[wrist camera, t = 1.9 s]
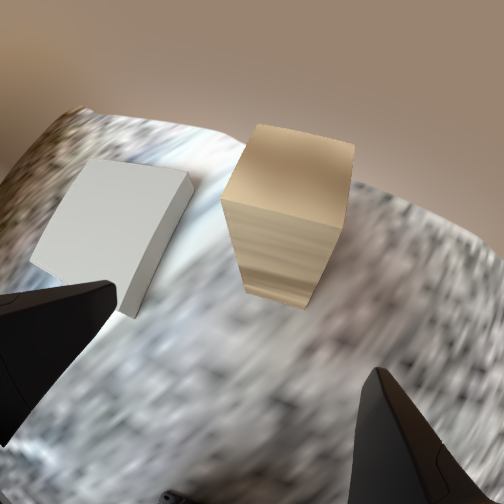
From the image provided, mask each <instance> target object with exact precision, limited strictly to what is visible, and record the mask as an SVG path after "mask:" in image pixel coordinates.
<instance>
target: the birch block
mask: <svg viewBox="0 0 504 504" xmlns="http://www.w3.org/2000/svg"><path fill="white" fill-rule="evenodd" d="M354 152H355V145H353V144H350V143H346V142H342V141H338V140H334V139H330V138H326V137H322V136H317V135H313V134H309V133H304V132H300V131H295V130H290V129H285V128H279V127H274V126H268V125H262V124H257V126H256V128H255V130H254V132H253V134H252V136H251V138H250V139H249V141H248V143H247V145H246V147H245V149H244V151H243V153H242V155H241V157H240V159H239V161H238V163H237V165H236V167H235V169H234V171H233V173H232V175H231V177H230V179H229V181H228V183H227V185H226V187H225V189H224V192H223V194H222V196H221V198H220V200H221V204H222V207H223V211H224V215H225V218H226V222H227V226H228V230H229V233H230V237H231V241H232V244H233V248H234V251H235V255H236V259H237V262H238V266H239V270H240V273H241V277H242V280H243V284H244V287H245V291H246V293H249V294H252V295H256V296H259V297H262V298H266V299H269V300H272V301H276V302H279V303H283V304H286V305H290V306H293V307H297V308H300V309H304V310H305V308H306V306H307V304H308V302H309V300H310V298H311V296H312V294H313V292H314V290H315V288H316V286H317V284H318V282H319V280H320V277H321V275H322V273H323V271H324V269H325V267H326V265H327V263H328V261H329V258H330V256H331V254H332V252H333V250H334V248H335V245H336V243H337V241H338V239H339V236H340V234H341V232H342V230H343V225H344V219H345V213H346V208H347V202H348V195H349V189H350V182H351V175H352V168H353V161H354Z"/></svg>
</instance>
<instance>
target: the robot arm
mask: <svg viewBox="0 0 504 504" xmlns="http://www.w3.org/2000/svg"><path fill="white" fill-rule="evenodd" d="M117 303H118V302H117V288H116V285H115V283H113V282H111V281H109V280H100V281H93V282H87V283H80V284H73V285H67V286H60V287H53V288H46V289H40V290H33V291H26V292H19V293H12V294H4V295H0V445H1V446H2V447H3V448H4V447H5V446H6V445H7V443H8V442H9V441H10V439H11V438H12V437H13V435H14V434H15V432H16V431H17V430H18V428H19V427H20V426H21V425H22V423H23V422H24V421H25V419H26V418H27V417H28V415H29V414H30V413H31V411H32V410H33V409H34V408H35V406H36V405H37V404H38V403H39V401H40V400H41V399H42V398H43V396H44V395H45V394H46V393H47V392H48V390H49V389H50V388H51V387H52V385H53V384H54V383H55V382H56V381H57V380H58V378H59V377H60V376H61V375H62V374H63V372H64V371H65V370H66V369H67V368H68V367H69V365H70V364H71V363H72V362H73V361H74V360H75V359H76V357H77V356H78V355H79V354H80V353H81V352H82V351H83V350H84V348H85V347H86V346H87V345H88V344H89V343H90V342H91V341H92V339H93V338H94V337H95V336H96V335H97V333H98V332H99V331H100V329H101V328H102V326H103V325H104V324H105V322H106V321H107V320H108V318H109V317H110V316H111V314H112V313H113V312H114V311H115V309H116V307H117ZM165 495H167V496H169V498H167V497H166V496H165ZM0 504H12V503H11V502H10V501H9V500H8V499H7V498H6V497H5V495H4V494H3V493H2V492H1V491H0ZM158 504H199V503H196V502H194V501H191V500H189V499H184V498H182V497H179V496H177V495H175V494H172V493H170V492H164V493H162V495H161V497H160V500H159V503H158ZM348 504H500V503H497V502H494V501H492V500H490V499H489V498H488V497H487V496H486V495H485V494H484V493H483V492H482V491H481V490H480V489H479V487H478V486H477V485H476V484H475V483H474V482H473V480H472V479H471V478H470V477H469V476H468V475H467V473H466V472H465V471H464V470H463V469H462V467H461V466H460V465H459V464H458V463H457V461H456V460H455V459H454V457H453V456H452V455H451V453H450V452H449V451H448V449H447V448H446V446H445V445H444V444H443V443H442V441H441V440H440V438H439V437H438V435H437V434H436V433H435V431H434V430H433V429H432V427H431V426H430V425H429V423H428V422H427V421H426V419H425V418H424V416H423V415H422V414H421V412H420V411H419V410H418V408H417V407H416V406H415V405H414V403H413V402H412V401H411V399H410V398H409V397H408V395H407V394H406V393H405V391H404V390H403V389H402V387H401V386H400V385H399V384H398V382H397V381H396V380H395V378H394V377H393V376H392V375H391V373H390V372H389V371H388V370H387V369H385V368H380V367H375V368H374V369H373V370H372V371H371V373H370V375H369V376H368V378H367V380H366V381H365V383H364V385H363V387H362V391H361V398H360V404H359V411H358V417H357V423H356V429H355V439H354V453H353V464H352V474H351V482H350V490H349V497H348Z"/></svg>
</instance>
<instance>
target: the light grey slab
mask: <svg viewBox="0 0 504 504" xmlns="http://www.w3.org/2000/svg"><path fill="white" fill-rule="evenodd" d="M194 191H195V190H194V188H193V185H192V182H191V180H190V177H189V174H188V172H185V171H179V170H173V169H167V168H161V167H154V166H147V165H140V164H133V163H126V162H118V161H109V160H101V159H91V158H90V160H89V161H88V163H87V164H86V165H85V167H84V168H83V169H82V171H81V172H80V174H79V175H78V177H77V178H76V180H75V181H74V183H73V184H72V186H71V187H70V189H69V190H68V192H67V193H66V195H65V196H64V198H63V200H62V201H61V203H60V205H59V206H58V208H57V210H56V211H55V213H54V215H53V216H52V218H51V220H50V222H49V223H48V225H47V227H46V229H45V231H44V233H43V235H42V236H41V238H40V240H39V242H38V244H37V246H36V248H35V250H34V252H33V254H32V256H31V259H30V262H32V263H33V264H35V265H36V266H38V267H39V268H41V269H42V270H44V271H46V272H47V273H49V274H50V275H52V276H54V277H55V278H57V279H59V280H61V281H62V282H64V283H66V284H67V285H73V284H80V283H87V282H93V281H100V280H109V281H111V282H113V283H115V285H116V288H117V302H118V303H117V307H116V309H115V310H116V311H119V312H121V313H123V314H125V315H127V316H129V317H131V318H133V319H135V317H136V314H137V312H138V310H139V307H140V305H141V302H142V300H143V298H144V295H145V293H146V291H147V288H148V286H149V284H150V282H151V279H152V277H153V275H154V273H155V270H156V268H157V266H158V264H159V262H160V259H161V257H162V255H163V253H164V251H165V249H166V247H167V245H168V243H169V240H170V238H171V236H172V234H173V232H174V230H175V228H176V226H177V224H178V222H179V220H180V218H181V216H182V214H183V212H184V210H185V208H186V207H187V205H188V203H189V201H190V199H191V197H192V195H193V193H194Z"/></svg>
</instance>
